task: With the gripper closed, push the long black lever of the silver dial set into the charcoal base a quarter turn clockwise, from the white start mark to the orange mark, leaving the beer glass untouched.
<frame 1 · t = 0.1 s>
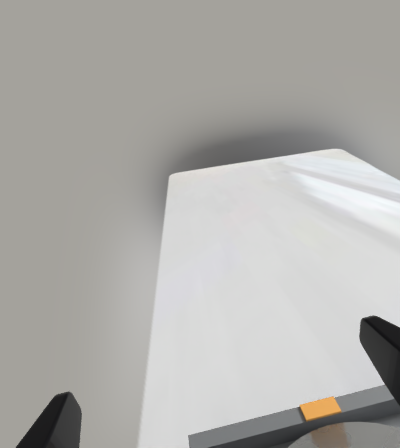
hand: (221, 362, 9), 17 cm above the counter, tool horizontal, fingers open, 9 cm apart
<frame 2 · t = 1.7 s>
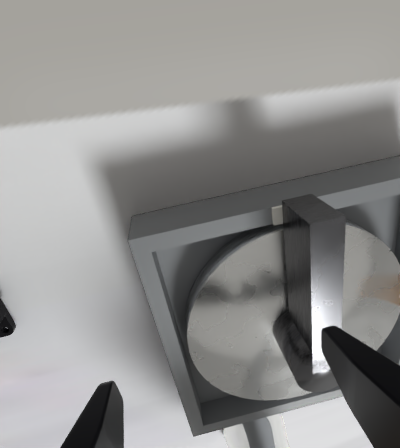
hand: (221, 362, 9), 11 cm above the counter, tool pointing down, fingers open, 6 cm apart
dial: (305, 325, 18), point 4 cm above the counter, hinge at 0.0°
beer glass: (252, 422, 29), on the counter
dial base: (279, 294, 23), on the counter
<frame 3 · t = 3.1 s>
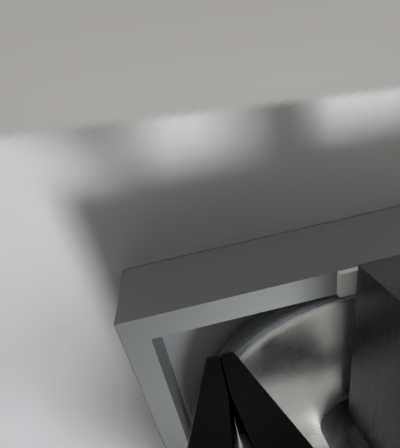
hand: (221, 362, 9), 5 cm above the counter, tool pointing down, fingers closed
dial: (371, 427, 13), point 4 cm above the counter, hinge at 0.0°
dial base: (321, 360, 17), on the counter
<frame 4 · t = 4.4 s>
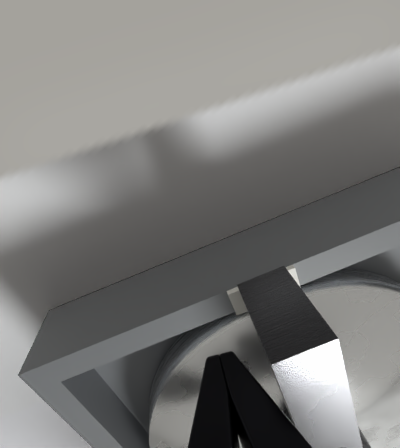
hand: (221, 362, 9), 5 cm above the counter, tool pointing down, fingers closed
dial: (316, 431, 12), point 4 cm above the counter, hinge at 0.0°, touching gripper
dial base: (282, 361, 17), on the counter
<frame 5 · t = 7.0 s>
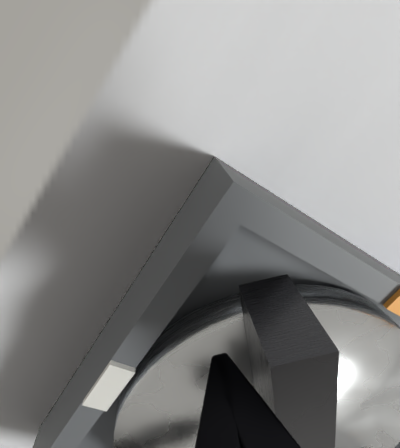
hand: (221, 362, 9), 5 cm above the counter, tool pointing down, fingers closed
dial: (283, 444, 12), point 4 cm above the counter, hinge at -46.9°, touching gripper
dial base: (256, 371, 17), on the counter
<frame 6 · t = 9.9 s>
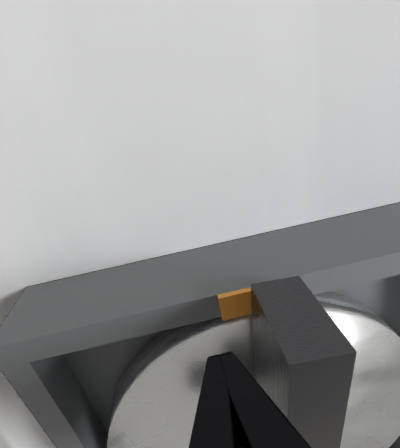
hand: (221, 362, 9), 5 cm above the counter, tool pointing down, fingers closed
dial: (278, 447, 13), point 4 cm above the counter, hinge at -94.0°
dial base: (250, 374, 17), on the counter
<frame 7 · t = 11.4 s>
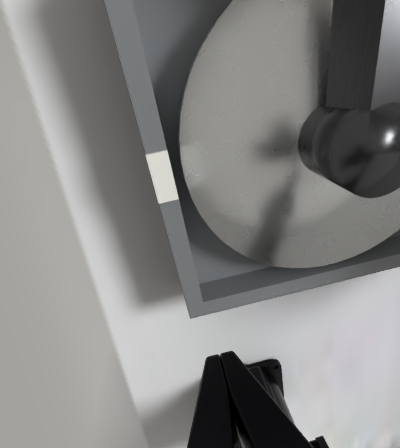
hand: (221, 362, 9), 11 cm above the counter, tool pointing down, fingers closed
dial: (347, 119, 13), point 4 cm above the counter, hinge at -94.2°
dial base: (302, 129, 17), on the counter
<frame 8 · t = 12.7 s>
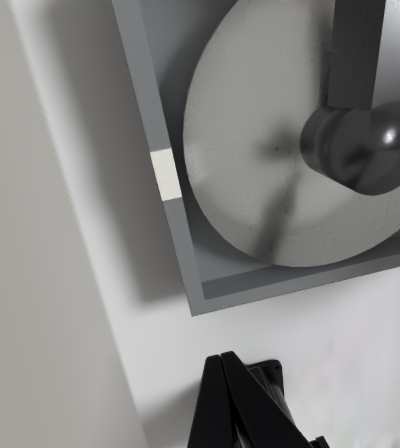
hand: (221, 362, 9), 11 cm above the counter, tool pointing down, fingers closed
dial: (348, 118, 13), point 4 cm above the counter, hinge at -94.2°
dial base: (303, 130, 17), on the counter
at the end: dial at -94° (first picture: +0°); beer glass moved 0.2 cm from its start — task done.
